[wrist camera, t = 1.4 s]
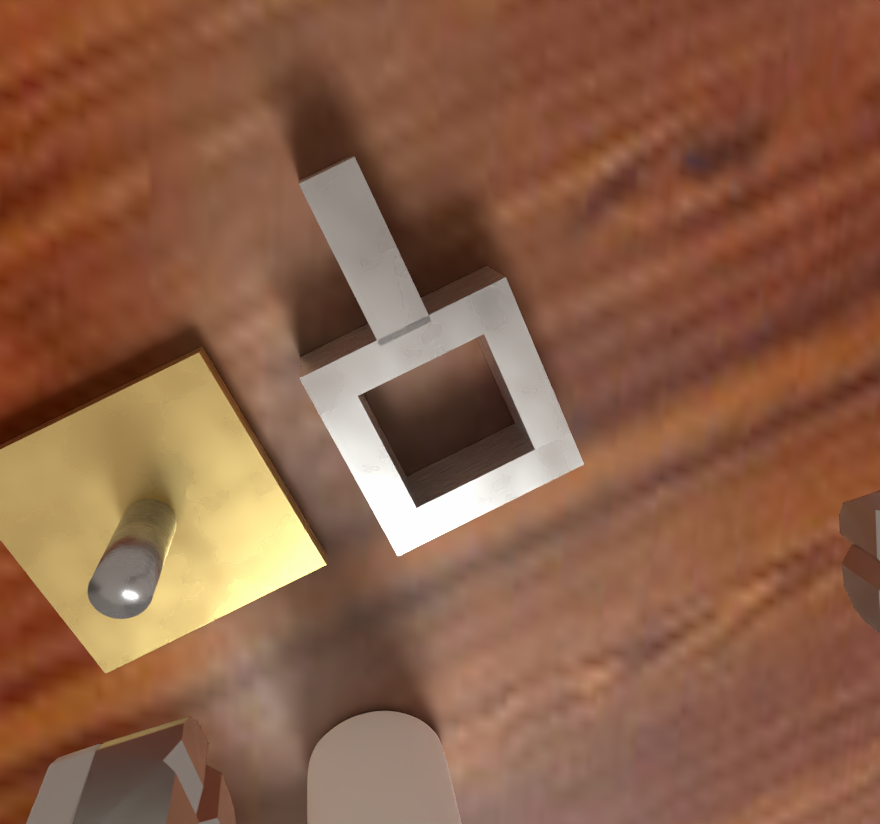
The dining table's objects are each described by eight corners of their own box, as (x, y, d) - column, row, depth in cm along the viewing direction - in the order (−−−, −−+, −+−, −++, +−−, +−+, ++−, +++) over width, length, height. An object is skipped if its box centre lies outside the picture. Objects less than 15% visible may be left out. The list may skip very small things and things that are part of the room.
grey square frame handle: (223, 217, 27) (214, 224, 24) (424, 119, 27) (438, 116, 25) (389, 521, 32) (397, 556, 29) (559, 437, 32) (584, 464, 29)
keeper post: (202, 346, 29) (177, 392, 23) (325, 552, 32) (330, 636, 27) (-40, 464, 28) (-123, 540, 23) (111, 658, 32) (70, 765, 26)
